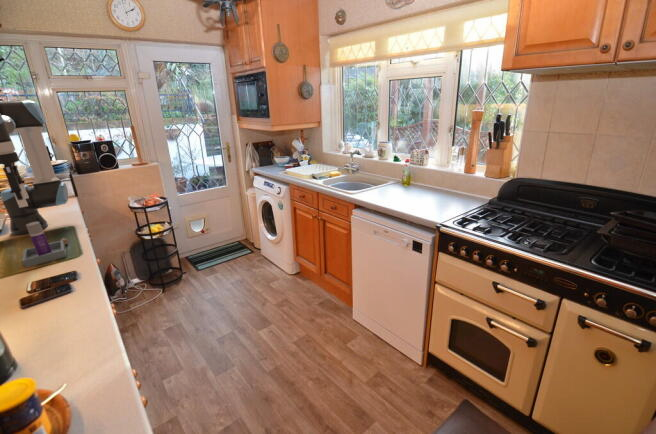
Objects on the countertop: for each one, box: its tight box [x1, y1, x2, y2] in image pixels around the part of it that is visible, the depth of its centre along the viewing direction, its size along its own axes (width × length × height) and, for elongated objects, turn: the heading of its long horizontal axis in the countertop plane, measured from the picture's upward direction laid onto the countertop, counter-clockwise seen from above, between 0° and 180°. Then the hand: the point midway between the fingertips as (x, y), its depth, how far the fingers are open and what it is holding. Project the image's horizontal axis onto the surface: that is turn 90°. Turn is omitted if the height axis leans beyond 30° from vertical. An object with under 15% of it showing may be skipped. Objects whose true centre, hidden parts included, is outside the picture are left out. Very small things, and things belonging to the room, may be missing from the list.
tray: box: [21, 239, 67, 268], centre depth 146 cm, size 14×14×3 cm
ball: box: [59, 237, 69, 246], centre depth 157 cm, size 3×3×3 cm
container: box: [26, 222, 52, 256], centre depth 144 cm, size 5×5×15 cm
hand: (24, 202), depth 141 cm, fingers open, 13 cm apart
